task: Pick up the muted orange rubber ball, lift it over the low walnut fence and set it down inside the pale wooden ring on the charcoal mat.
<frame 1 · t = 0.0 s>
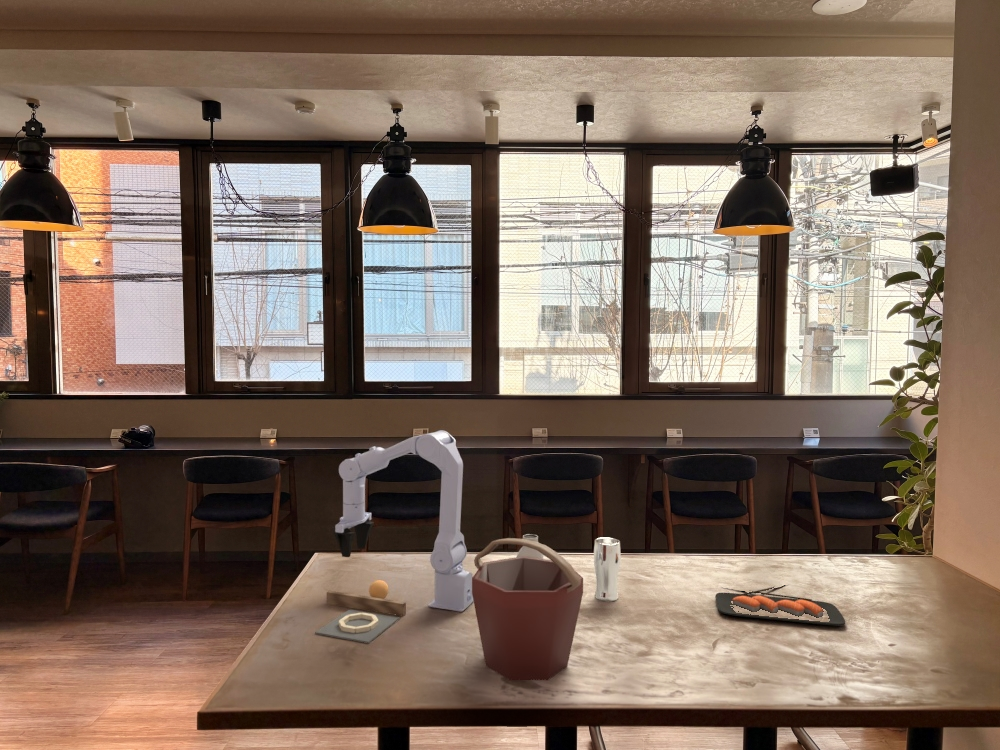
hand: (354, 552, 176), 10 cm above the table, tool pointing down, fingers open, 7 cm apart
ball: (378, 590, 169), point 2 cm above the table
sushi plate: (771, 603, 171), on the table
bucket: (527, 661, 137), on the table
fence: (365, 608, 163), on the table
cradle: (358, 626, 153), on the table
beer glass: (606, 598, 172), on the table
plastic bottle: (529, 618, 159), on the table
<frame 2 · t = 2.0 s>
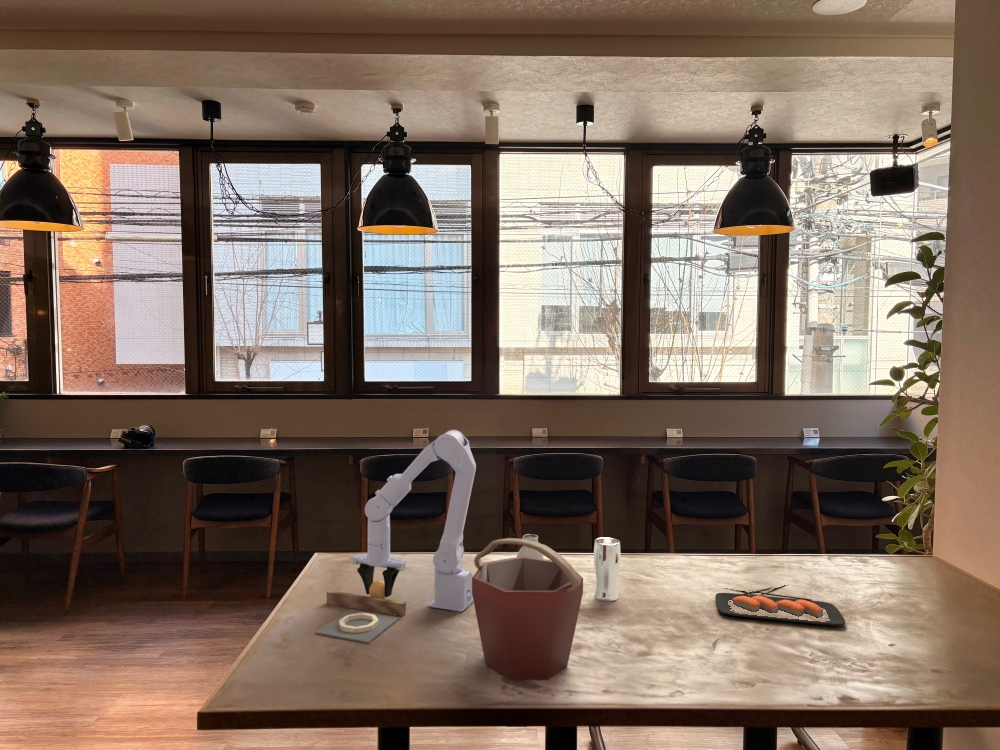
hand: (378, 594, 169), 1 cm above the table, tool pointing down, fingers closed on ball, 5 cm apart
ball: (378, 590, 169), point 2 cm above the table, touching gripper
everything else where it was.
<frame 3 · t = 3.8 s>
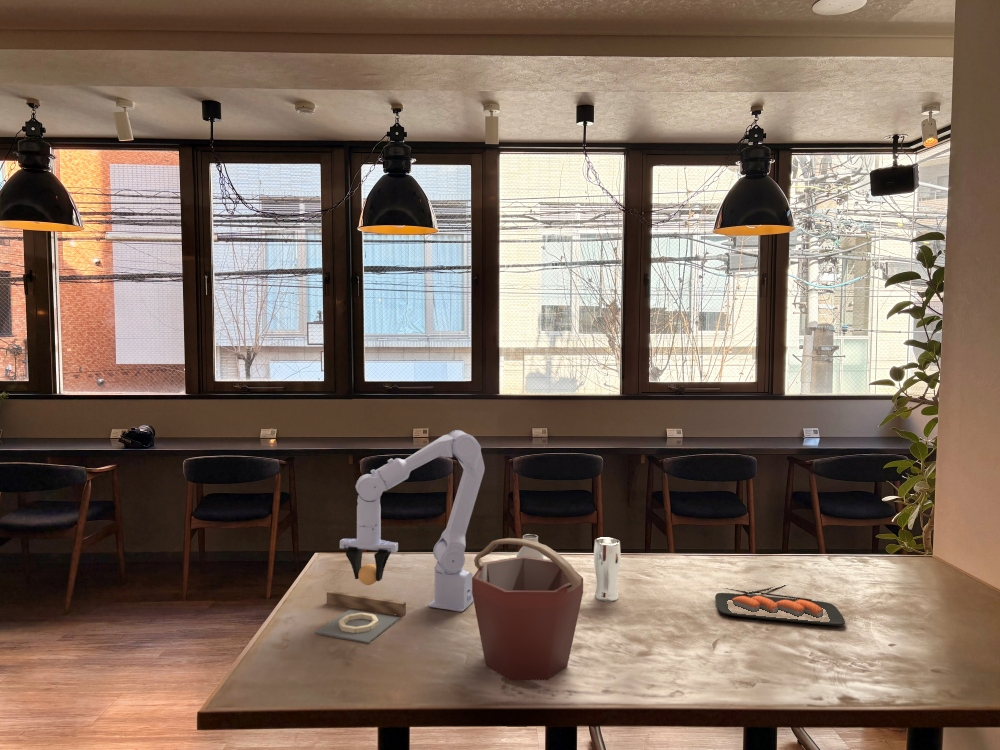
hand: (368, 578, 161), 8 cm above the table, tool pointing down, fingers closed on ball, 5 cm apart
ball: (368, 574, 161), point 10 cm above the table, touching gripper
everything else where it was.
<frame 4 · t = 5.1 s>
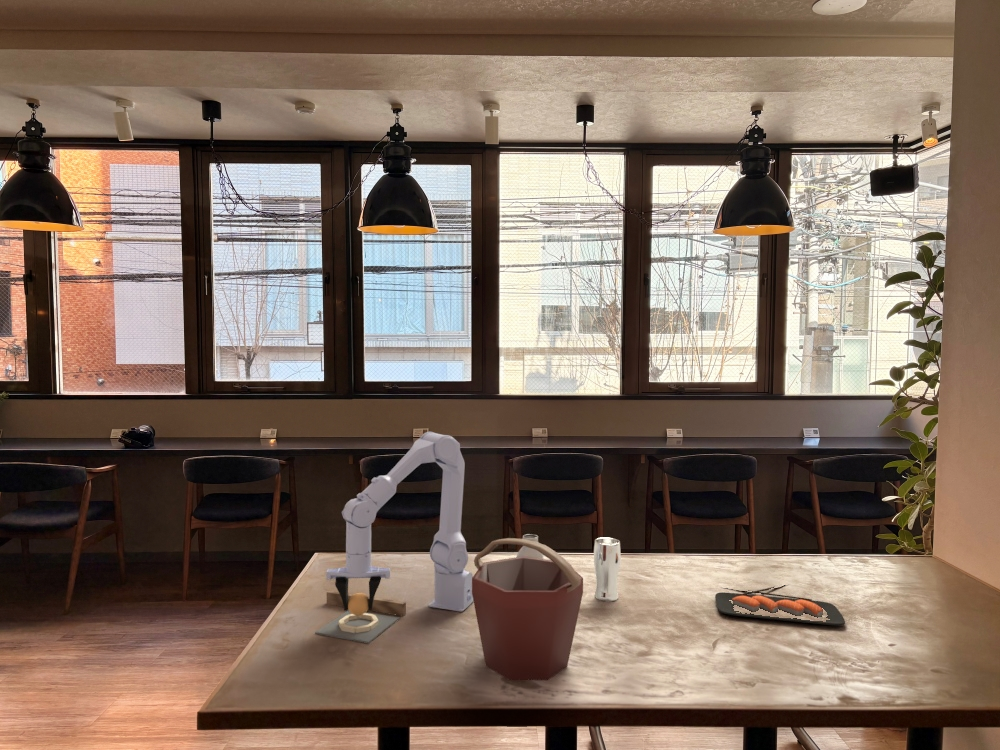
hand: (358, 608, 153), 4 cm above the table, tool pointing down, fingers closed on ball, 5 cm apart
ball: (358, 603, 153), point 5 cm above the table, touching gripper
everything else where it was.
when the fingers open (2 cm above the table, at t = 6.0 s): ball stays where it is, resting on cradle.
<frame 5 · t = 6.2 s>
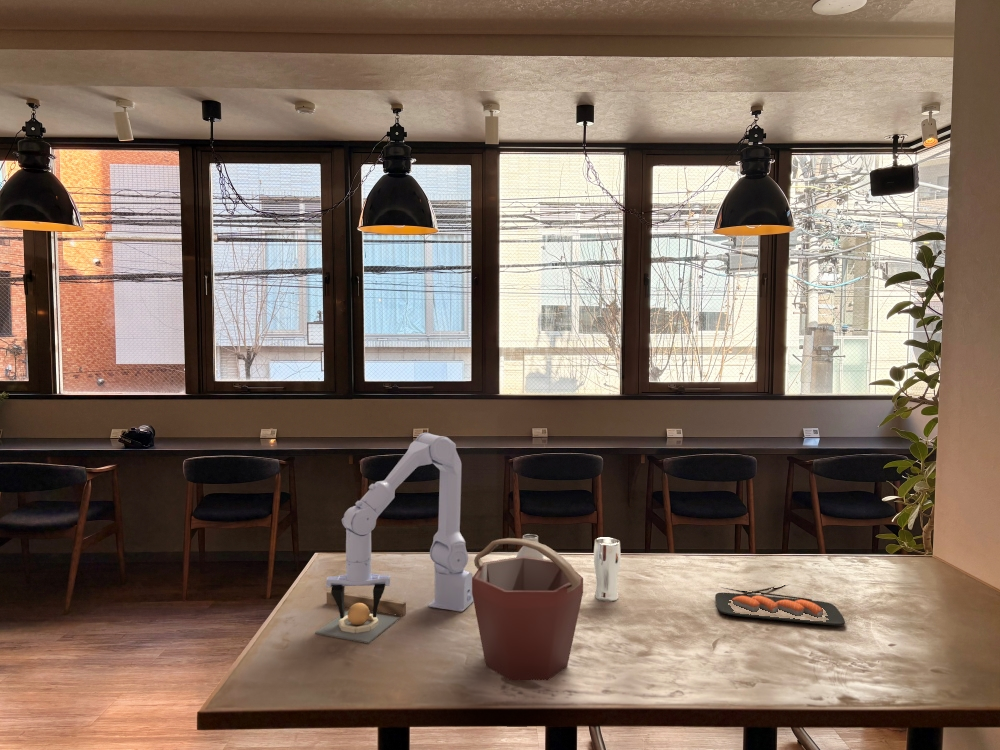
hand: (358, 616, 153), 2 cm above the table, tool pointing down, fingers open, 7 cm apart
ball: (358, 614, 153), point 3 cm above the table, touching cradle
everything else where it was.
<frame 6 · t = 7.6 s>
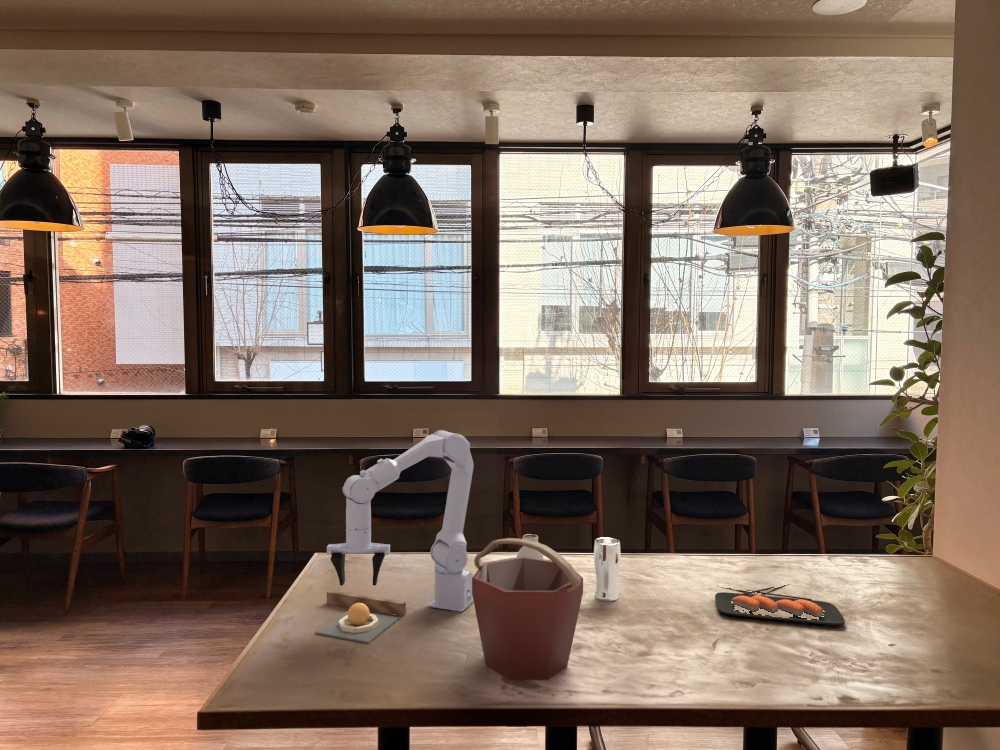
hand: (358, 584, 155), 9 cm above the table, tool pointing down, fingers open, 7 cm apart
nothing on the table moved.
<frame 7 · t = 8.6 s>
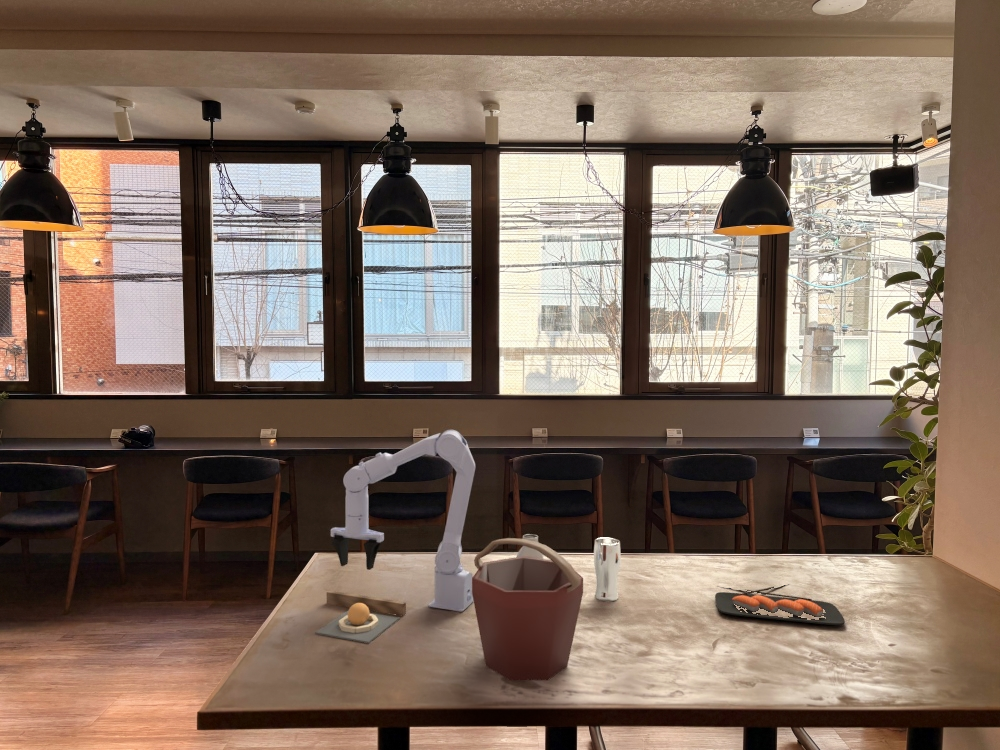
hand: (357, 566, 167), 9 cm above the table, tool pointing down, fingers open, 7 cm apart
nothing on the table moved.
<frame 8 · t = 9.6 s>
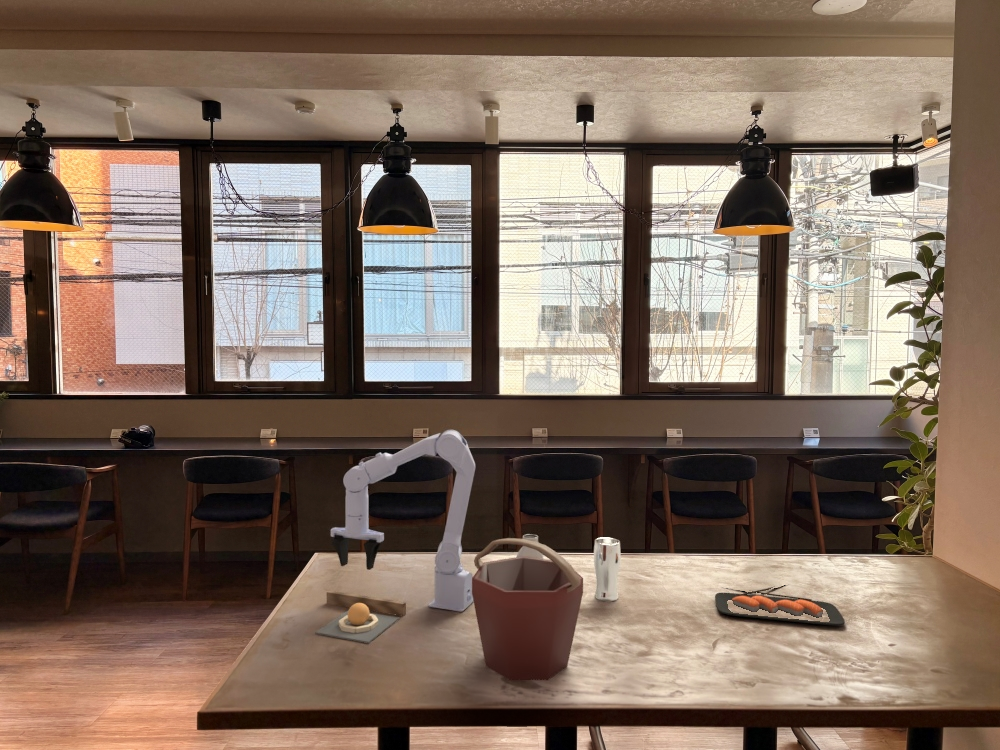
hand: (357, 566, 167), 9 cm above the table, tool pointing down, fingers open, 7 cm apart
nothing on the table moved.
at the end: ball 0.0 cm off-centre on the cradle, point 2.9 cm above the cradle's base; the gripper is holding nothing; ball moved 16.5 cm from its start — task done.
